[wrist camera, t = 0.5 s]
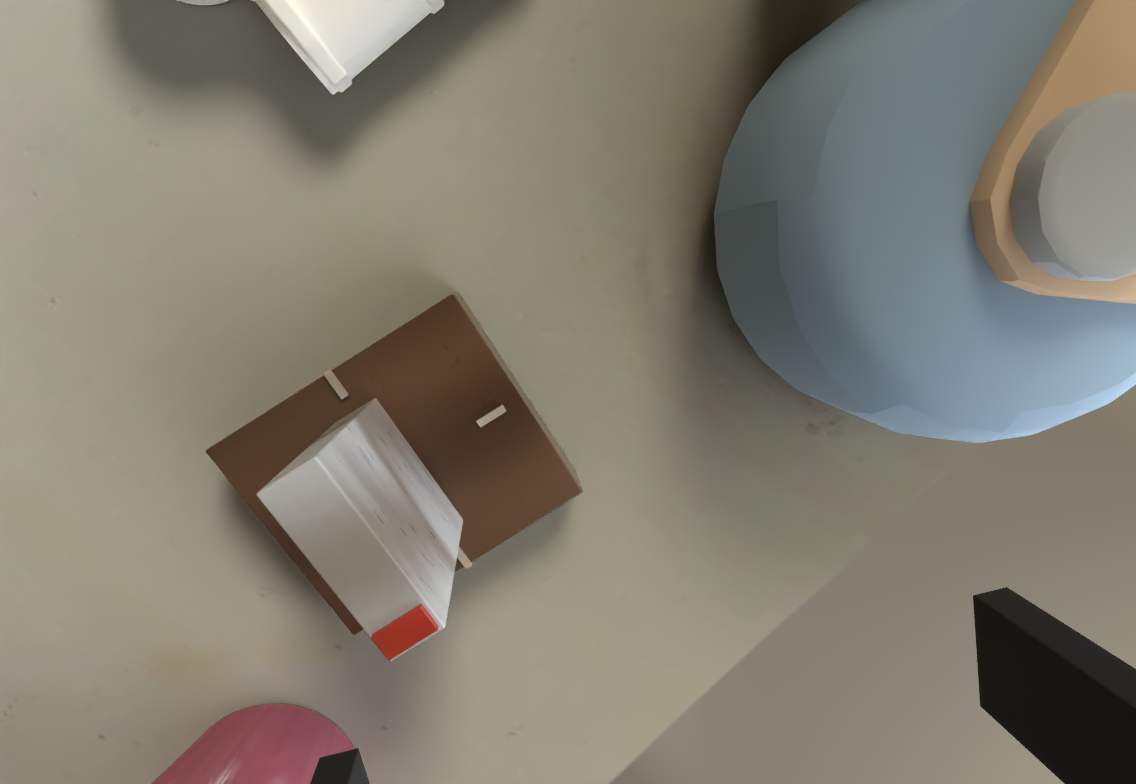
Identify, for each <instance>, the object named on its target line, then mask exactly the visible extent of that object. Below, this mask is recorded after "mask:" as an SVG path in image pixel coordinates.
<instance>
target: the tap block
mask: <svg viewBox="0 0 1136 784" xmlns="http://www.w3.org/2000/svg"><path fill="white" fill-rule="evenodd" d="M323 375H324V376H322V377H320V378H319V379H317V380H316V381H314V382H313V383H311V384H309V385H308V386H306V387H305V388H303V389H302V390H300V391H298V392H297V393H295V394H294V395H292V396H290V397H289V398H287V399H286V400H284V401H283V402H281V403H279V404H278V405H276V406H275V407H273V408H272V409H270V410H268V411H267V412H265V413H264V414H262V415H261V416H259V417H257V418H256V419H254V420H253V421H251V422H250V423H248V424H246V425H245V426H243V427H242V428H240V429H239V430H237V431H235V432H234V433H232V434H231V435H229V436H227V437H226V438H224V439H223V440H221V441H220V442H218V443H216V444H215V445H213V446H212V447H210V448H209V449H207V450H206V453H207V454H208V455H209V456H210V457H211V459H212V460H213V461H214V462H215V464H216V465H217V466H218V467H219V469H220V470H221V471H222V472H223V474H224V475H225V476H226V477H227V479H228V480H229V481H230V482H231V483H232V485H233V486H234V487H235V488H236V490H237V491H238V492H239V493H240V495H241V496H242V497H243V498H244V500H245V501H246V502H247V503H248V505H249V506H250V507H251V508H252V510H253V511H254V512H255V513H256V514H257V516H258V517H259V518H260V519H261V521H262V522H263V523H264V524H265V526H266V527H267V528H268V529H269V531H270V532H271V533H272V534H273V536H274V537H275V538H276V539H277V541H278V542H279V543H280V544H281V545H282V547H283V548H284V549H285V550H286V552H287V553H288V554H289V555H290V557H291V558H292V559H293V560H294V562H295V563H296V564H297V565H298V567H299V568H300V569H301V570H302V571H303V573H304V574H305V575H306V576H307V578H308V579H309V580H310V581H311V583H312V584H313V585H314V586H315V588H316V589H317V590H318V591H319V593H320V594H321V595H322V596H323V598H324V599H325V600H326V601H327V602H328V604H329V605H330V606H331V607H332V609H333V610H334V611H335V612H336V614H337V615H338V616H339V617H340V619H341V620H342V621H343V622H344V624H345V625H346V626H347V627H348V629H349V630H350V631H351V632H352V633H353V634H354V635H355V634H356V633H358V632H360V631H361V630H363V628H362V627H361V625H360V624H359V623H358V622H357V620H356V619H355V618H354V617H353V615H352V614H351V613H350V612H349V610H348V609H347V608H346V607H345V605H344V604H343V603H342V602H341V600H340V599H339V598H338V597H337V595H336V594H335V593H334V592H333V590H332V589H331V588H330V587H329V585H328V584H327V583H326V582H325V580H324V579H323V578H322V577H321V575H320V574H319V573H318V572H317V570H316V569H315V568H314V567H313V565H312V564H311V563H310V562H309V560H308V559H307V558H306V557H305V555H304V554H303V553H302V552H301V550H300V549H299V548H298V547H297V545H296V544H295V543H294V542H293V540H292V539H291V538H290V537H289V535H288V534H287V533H286V532H285V530H284V529H283V528H282V527H281V525H280V524H279V523H278V522H277V520H276V519H275V518H274V517H273V515H272V514H271V513H270V512H269V510H268V509H267V508H266V507H265V505H264V504H263V503H262V502H261V500H260V499H259V498H258V497H257V493H258V492H259V491H260V490H261V489H262V488H263V487H264V486H265V485H267V484H268V483H269V482H270V481H271V480H272V479H273V478H274V477H275V476H277V475H278V474H279V473H280V472H281V471H282V470H283V469H284V468H285V467H287V466H288V465H289V464H290V463H291V462H292V461H293V460H294V459H296V458H297V457H298V456H299V455H300V454H301V453H302V452H303V451H304V450H306V449H307V448H308V447H309V446H310V445H311V444H312V443H313V442H314V441H316V440H317V439H318V438H319V437H320V436H321V435H322V434H323V433H325V432H326V431H327V430H328V429H329V428H330V427H331V426H332V425H333V424H335V423H336V422H337V421H339V420H341V419H342V418H344V417H345V416H347V415H348V414H350V413H352V412H353V411H355V410H356V409H358V408H359V407H361V406H363V405H364V404H366V403H367V402H369V401H371V400H372V399H374V398H376V399H377V400H378V401H379V403H380V404H381V406H382V407H383V408H384V410H385V411H386V413H387V414H388V415H389V417H390V418H391V420H392V421H393V422H394V424H395V425H396V427H397V428H398V429H399V431H400V432H401V434H402V435H403V436H404V438H405V439H406V440H407V442H408V443H409V445H410V446H411V447H412V449H413V450H414V452H415V453H416V454H417V456H418V457H419V459H420V460H421V461H422V463H423V464H424V466H425V467H426V468H427V470H428V471H429V473H430V474H431V475H432V477H433V478H434V480H435V481H436V482H437V484H438V485H439V487H440V488H441V489H442V491H443V492H444V493H445V495H446V496H447V498H448V499H449V500H450V502H451V503H452V505H453V506H454V507H455V509H456V510H457V512H458V513H459V514H460V516H461V517H462V519H463V525H462V531H461V537H460V543H459V549H458V555H457V561H456V567H455V572H456V571H457V570H459V569H460V568H462V567H465V569H467V568H469V567H471V566H472V563H471V562H472V561H473V560H475V559H476V558H478V557H480V556H481V555H483V554H484V553H486V552H488V551H489V550H491V549H492V548H494V547H496V546H497V545H499V544H500V543H502V542H504V541H505V540H507V539H508V538H510V537H512V536H513V535H515V534H516V533H518V532H520V531H521V530H523V529H524V528H526V527H528V526H529V525H531V524H532V523H534V522H536V521H537V520H539V519H540V518H542V517H544V516H545V515H547V514H548V513H550V512H552V511H553V510H555V509H556V508H558V507H560V506H561V505H563V504H564V503H566V502H568V501H569V500H571V499H572V498H574V497H576V496H577V495H579V494H580V493H582V492H583V490H582V487H581V485H580V482H579V479H578V476H577V473H576V471H575V469H574V468H573V466H572V465H571V463H570V462H569V460H568V459H567V457H566V456H565V454H564V452H563V451H562V449H561V448H560V446H559V445H558V443H557V442H556V440H555V439H554V437H553V436H552V434H551V433H550V431H549V429H548V428H547V426H546V425H545V423H544V422H543V420H542V419H541V417H540V416H539V414H538V413H537V411H536V410H535V408H534V407H533V405H532V403H531V402H530V400H529V399H528V397H527V396H526V394H525V393H524V391H523V390H522V388H521V387H520V385H519V384H518V382H517V380H516V379H515V377H514V376H513V374H512V373H511V371H510V370H509V368H508V367H507V365H506V364H505V362H504V361H503V359H502V358H501V356H500V354H499V353H498V351H497V350H496V348H495V347H494V345H493V344H492V342H491V341H490V339H489V338H488V336H487V335H486V333H485V331H484V330H483V328H482V327H481V325H480V324H479V322H478V321H477V319H476V318H475V316H474V315H473V313H472V312H471V310H470V309H469V307H468V305H467V304H466V302H465V301H464V299H463V298H462V296H461V295H460V293H459V292H455V293H453V294H451V295H450V296H448V297H446V298H445V299H443V300H442V301H440V302H439V303H437V304H435V305H434V306H432V307H431V308H429V309H428V310H426V311H424V312H423V313H421V314H420V315H418V316H416V317H415V318H413V319H412V320H410V321H409V322H407V323H405V324H404V325H402V326H401V327H399V328H398V329H396V330H394V331H393V332H391V333H390V334H388V335H387V336H385V337H383V338H382V339H380V340H379V341H377V342H376V343H374V344H372V345H371V346H369V347H368V348H366V349H365V350H363V351H361V352H360V353H358V354H357V355H355V356H353V357H352V358H350V359H349V360H347V361H346V362H344V363H342V364H341V365H339V366H338V367H336V368H335V369H333V370H331V369H328V370H327V371H325V372H324V373H323Z"/></svg>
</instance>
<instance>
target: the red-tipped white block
mask: <svg viewBox="0 0 1136 784" xmlns="http://www.w3.org/2000/svg"><path fill="white" fill-rule="evenodd" d="M257 497H258V498H259V499H260V500H261V502H262V503H263V504H264V505H265V507H266V508H267V509H268V510H269V512H270V513H271V514H272V515H273V517H274V518H275V519H276V520H277V522H278V523H279V524H280V525H281V527H282V528H283V529H284V530H285V532H286V533H287V534H288V535H289V537H290V538H291V539H292V540H293V542H294V543H295V544H296V545H297V547H298V548H299V549H300V550H301V552H302V553H303V554H304V555H305V557H306V558H307V559H308V560H309V562H310V563H311V564H312V565H313V567H314V568H315V569H316V570H317V572H318V573H319V574H320V575H321V577H322V578H323V579H324V580H325V582H326V583H327V584H328V585H329V587H330V588H331V589H332V590H333V592H334V593H335V594H336V595H337V597H338V598H339V599H340V600H341V602H342V603H343V604H344V605H345V607H346V608H347V609H348V610H349V612H350V613H351V614H352V615H353V617H354V618H355V619H356V620H357V622H358V623H359V624H360V625H361V627H362V628H363V629H364V630H365V632H366V633H367V634H368V635H369V637H370V638H371V639H372V640H373V642H374V643H375V644H376V645H377V647H378V648H379V649H380V650H381V652H382V653H383V654H384V655H385V657H386V658H387V659H388V660H389V661H392V660H394V659H396V658H397V657H399V656H401V655H402V654H404V653H405V652H407V651H409V650H410V649H412V648H413V647H415V646H417V645H418V644H420V643H421V642H423V641H425V640H426V639H428V638H429V637H431V636H433V635H434V634H436V633H437V632H439V631H441V630H442V629H444V628H445V626H446V620H447V614H448V608H449V602H450V596H451V590H452V584H453V578H454V573H455V567H456V561H457V555H458V549H459V543H460V537H461V531H462V525H463V519H462V517H461V516H460V514H459V513H458V512H457V510H456V509H455V507H454V506H453V505H452V503H451V502H450V500H449V499H448V498H447V496H446V495H445V493H444V492H443V491H442V489H441V488H440V487H439V485H438V484H437V482H436V481H435V480H434V478H433V477H432V475H431V474H430V473H429V471H428V470H427V468H426V467H425V466H424V464H423V463H422V461H421V460H420V459H419V457H418V456H417V454H416V453H415V452H414V450H413V449H412V447H411V446H410V445H409V443H408V442H407V440H406V439H405V438H404V436H403V435H402V434H401V432H400V431H399V429H398V428H397V427H396V425H395V424H394V422H393V421H392V420H391V418H390V417H389V415H388V414H387V413H386V411H385V410H384V408H383V407H382V406H381V404H380V403H379V401H378V400H377V399H376V398H374V399H372V400H371V401H369V402H367V403H366V404H364V405H363V406H361V407H359V408H358V409H356V410H355V411H353V412H352V413H350V414H348V415H347V416H345V417H344V418H342V419H341V420H339V421H337V422H336V423H335V424H333V425H332V426H331V427H330V428H329V429H328V430H327V431H326V432H325V433H323V434H322V435H321V436H320V437H319V438H318V439H317V440H316V441H314V442H313V443H312V444H311V445H310V446H309V447H308V448H307V449H306V450H304V451H303V452H302V453H301V454H300V455H299V456H298V457H297V458H296V459H294V460H293V461H292V462H291V463H290V464H289V465H288V466H287V467H285V468H284V469H283V470H282V471H281V472H280V473H279V474H278V475H277V476H275V477H274V478H273V479H272V480H271V481H270V482H269V483H268V484H267V485H265V486H264V487H263V488H262V489H261V490H260V491H259V492H258V493H257Z"/></svg>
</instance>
